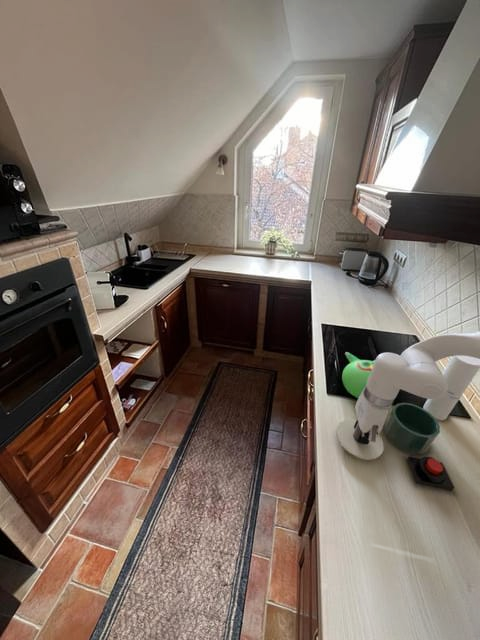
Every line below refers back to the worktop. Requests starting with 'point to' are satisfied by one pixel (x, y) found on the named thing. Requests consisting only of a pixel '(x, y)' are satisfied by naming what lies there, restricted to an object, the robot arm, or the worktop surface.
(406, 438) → the jar
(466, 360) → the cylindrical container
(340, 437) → the lid
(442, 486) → the block
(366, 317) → the worktop surface
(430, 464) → the button
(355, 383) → the toy bird
